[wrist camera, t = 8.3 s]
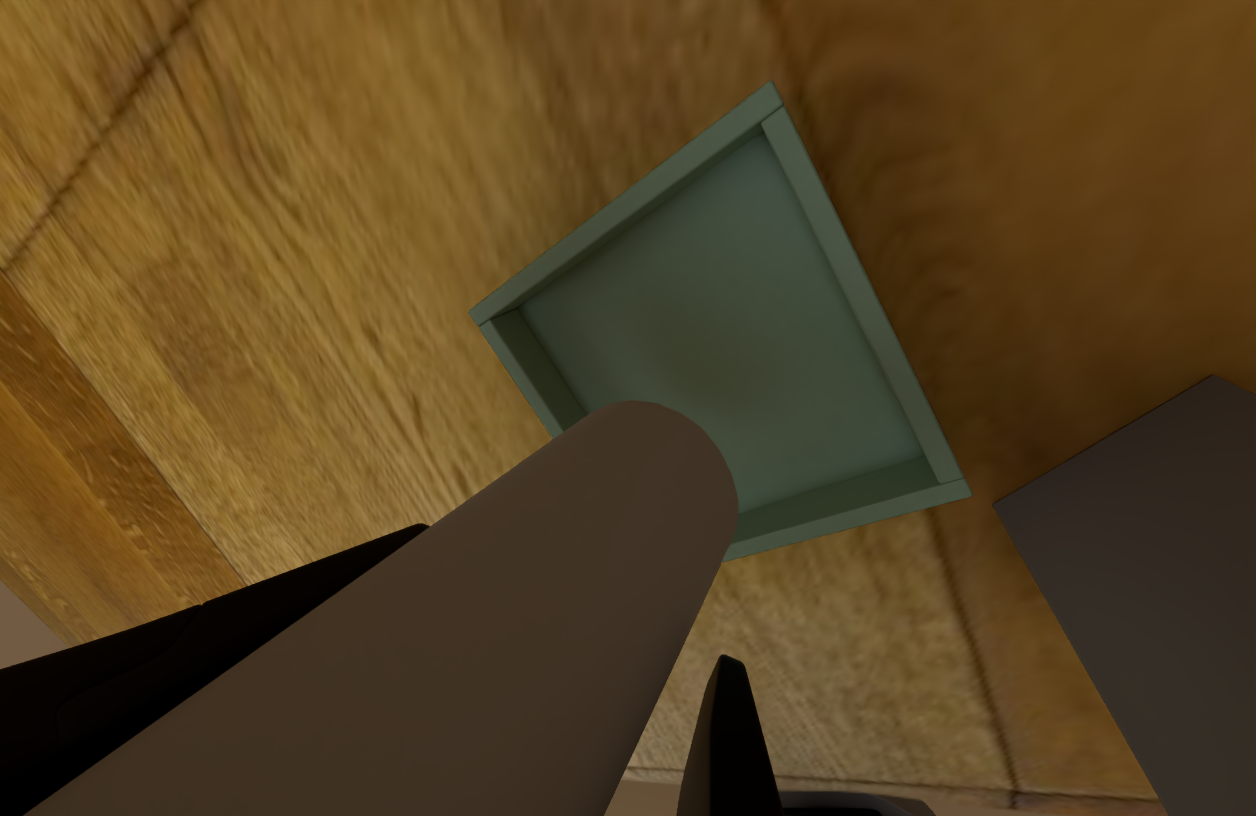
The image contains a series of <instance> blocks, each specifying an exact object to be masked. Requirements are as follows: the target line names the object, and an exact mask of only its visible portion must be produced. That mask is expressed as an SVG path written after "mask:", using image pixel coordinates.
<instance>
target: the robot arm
mask: <svg viewBox="0 0 1256 816" xmlns="http://www.w3.org/2000/svg"><path fill="white" fill-rule="evenodd" d="M429 527H430V526H428V525H426V524H423V523H419V524H415V525H412V526H410V527H407V528H404V529H401V530H399V531H396V532H393V533H391V534H388V535H385V536H382V537H380V538H377V539H374V540H372V541H369V542H366V543H363V544H361V545H358V546H355V547H353V548H350V549H347V550H344V551H342V552H339V553H336V554H334V555H331V556H328V557H326V558H323V559H320V560H317V561H315V562H312V563H309V564H307V565H304V566H301V567H298V568H296V569H293V570H290V571H288V572H285V573H282V574H279V575H277V576H274V577H271V578H269V579H266V580H263V581H261V582H258V583H255V584H252V585H250V586H247V587H244V588H242V589H239V590H236V591H233V592H231V593H228V594H225V595H223V596H220V597H217V598H214V599H212V600H209V601H206V602H204V603H203V604H202V605H195V606H192V607H190V608H187V609H184V610H182V611H179V612H176V613H173V614H171V615H168V616H165V617H162V618H159V619H156V620H154V621H151V622H148V623H145V624H142V625H139V626H137V627H134V628H131V629H128V630H125V631H122V632H119V633H116V634H113V635H109V636H106V637H103V638H100V639H97V640H94V641H91V642H88V643H84V644H81V645H78V646H75V647H72V648H68V649H65V650H62V651H59V652H56V653H52V654H49V655H46V656H42V657H39V658H36V659H32V660H29V661H26V662H23V663H19V664H16V665H13V666H10V667H6V668H3V669H0V816H23V815H24V814H26V813H27V812H29V811H30V810H31V809H33V808H34V807H36V806H37V805H38V804H40V803H41V802H43V801H44V800H45V799H47V798H48V797H50V796H51V795H53V794H54V793H55V792H57V791H58V790H60V789H61V788H62V787H64V786H65V785H67V784H68V783H69V782H71V781H72V780H74V779H75V778H77V777H78V776H79V775H81V774H82V773H84V772H85V771H86V770H88V769H89V768H91V767H92V766H93V765H95V764H96V763H98V762H99V761H100V760H102V759H103V758H105V757H106V756H108V755H109V754H110V753H112V752H113V751H115V750H116V749H117V748H119V747H120V746H122V745H123V744H124V743H126V742H127V741H129V740H130V739H132V738H133V737H134V736H136V735H137V734H139V733H140V732H141V731H143V730H144V729H146V728H147V727H148V726H150V725H151V724H153V723H154V722H155V721H157V720H158V719H160V718H161V717H163V716H164V715H165V714H167V713H168V712H170V711H171V710H172V709H174V708H175V707H177V706H178V705H179V704H181V703H182V702H184V701H185V700H187V699H188V698H189V697H191V696H192V695H194V694H195V693H196V692H198V691H199V690H201V689H202V688H203V687H205V686H206V685H208V684H209V683H211V682H212V681H213V680H215V679H216V678H218V677H219V676H220V675H222V674H223V673H225V672H226V671H227V670H229V669H230V668H232V667H233V666H234V665H236V664H237V663H239V662H240V661H242V660H243V659H244V658H246V657H247V656H249V655H250V654H251V653H253V652H254V651H256V650H257V649H258V648H260V647H261V646H263V645H264V644H266V643H267V642H268V641H270V640H271V639H273V638H274V637H275V636H277V635H278V634H280V633H281V632H282V631H284V630H285V629H287V628H288V627H289V626H291V625H292V624H294V623H295V622H297V621H298V620H299V619H301V618H302V617H304V616H305V615H306V614H308V613H309V612H311V611H312V610H313V609H315V608H316V607H318V606H319V605H321V604H322V603H323V602H325V601H326V600H328V599H329V598H330V597H332V596H333V595H335V594H336V593H337V592H339V591H340V590H342V589H343V588H344V587H346V586H347V585H349V584H350V583H352V582H353V581H354V580H356V579H357V578H359V577H360V576H361V575H363V574H364V573H366V572H367V571H368V570H370V569H371V568H373V567H374V566H376V565H377V564H378V563H380V562H381V561H383V560H384V559H385V558H387V557H388V556H390V555H391V554H392V553H394V552H395V551H397V550H398V549H399V548H401V547H402V546H404V545H405V544H407V543H408V542H409V541H411V540H412V539H414V538H415V537H416V536H418V535H419V534H421V533H422V532H423V531H425V530H426V529H428V528H429ZM677 816H883V815H882V814H881V813H880V812H879V811H877V810H874V809H868V808H782V804H781V800H780V797H779V793H778V789H777V785H776V782H775V778H774V774H773V770H772V766H771V763H770V759H769V755H768V751H767V747H766V744H765V740H764V736H763V732H762V728H761V725H760V721H759V717H758V713H757V710H756V706H755V702H754V698H753V694H752V691H751V687H750V683H749V679H748V675H747V672H746V668H745V666H744V664H743V663H742V662H741V661H739V660H736V659H734V658H732V657H729V656H727V655H724V654H723V655H721V656H720V657H719V658H718V661H717V663H716V665H715V667H714V670H713V672H712V674H711V676H710V679H709V681H708V683H707V686H706V689H705V693H704V697H703V701H702V704H701V708H700V712H699V716H698V720H697V724H696V728H695V732H694V736H693V740H692V744H691V748H690V751H689V755H688V759H687V763H686V767H685V771H684V776H683V780H682V784H681V790H680V796H679V802H678V808H677Z"/></svg>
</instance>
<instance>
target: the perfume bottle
mask: <svg viewBox="0 0 1256 816" xmlns="http://www.w3.org/2000/svg"><path fill="white" fill-rule="evenodd" d="M993 507H994V509H995V511H996V512H997V514H998V516H999V518H1000V519H1001V521H1002V523H1003V525H1004V527H1005V528H1006V530H1007V532H1008V534H1009V535H1010V537H1011V539H1012V541H1013V542H1014V544H1015V546H1016V548H1017V549H1018V551H1019V553H1020V555H1021V556H1022V558H1023V560H1024V562H1025V563H1026V565H1027V567H1028V569H1029V570H1030V572H1031V574H1032V576H1033V578H1034V579H1035V581H1036V583H1037V585H1038V586H1039V588H1040V590H1041V592H1042V593H1043V595H1044V597H1045V599H1046V600H1047V602H1048V604H1049V606H1050V607H1051V609H1052V611H1053V613H1054V614H1055V616H1056V618H1057V620H1058V621H1059V623H1060V625H1061V627H1062V629H1063V630H1064V632H1065V634H1066V636H1067V637H1068V639H1069V641H1070V643H1071V644H1072V646H1073V648H1074V650H1075V651H1076V653H1077V655H1078V657H1079V658H1080V660H1081V662H1082V664H1083V665H1084V667H1085V669H1086V671H1087V673H1088V674H1089V676H1090V678H1091V680H1092V681H1093V683H1094V685H1095V687H1096V688H1097V690H1098V692H1099V694H1100V695H1101V697H1102V699H1103V701H1104V702H1105V704H1106V706H1107V708H1108V709H1109V711H1110V713H1111V715H1112V716H1113V718H1114V720H1115V722H1116V724H1117V725H1118V727H1119V729H1120V731H1121V732H1122V734H1123V736H1124V738H1125V739H1126V741H1127V743H1128V745H1129V746H1130V748H1131V750H1132V752H1133V753H1134V755H1135V757H1136V759H1137V760H1138V762H1139V764H1140V766H1141V767H1142V769H1143V771H1144V773H1145V775H1146V776H1147V778H1148V780H1149V782H1150V783H1151V785H1152V787H1153V789H1154V790H1155V792H1156V794H1157V796H1158V797H1159V799H1160V801H1161V803H1162V804H1163V806H1164V808H1165V810H1166V811H1167V813H1168V815H1169V816H1256V394H1254V393H1252V392H1250V391H1247V390H1245V389H1243V388H1241V387H1239V386H1237V385H1235V384H1233V383H1230V382H1228V381H1226V380H1224V379H1222V378H1220V377H1218V376H1215V375H1212V376H1210V377H1209V378H1207V379H1205V380H1204V381H1202V382H1200V383H1199V384H1197V385H1195V386H1193V387H1192V388H1190V389H1188V390H1187V391H1185V392H1183V393H1182V394H1180V395H1178V396H1176V397H1175V398H1173V399H1171V400H1170V401H1168V402H1166V403H1165V404H1163V405H1161V406H1159V407H1158V408H1156V409H1154V410H1153V411H1151V412H1149V413H1148V414H1146V415H1144V416H1142V417H1141V418H1139V419H1137V420H1136V421H1134V422H1132V423H1131V424H1129V425H1127V426H1125V427H1124V428H1122V429H1120V430H1119V431H1117V432H1115V433H1114V434H1112V435H1110V436H1108V437H1107V438H1105V439H1103V440H1102V441H1100V442H1098V443H1097V444H1095V445H1093V446H1091V447H1090V448H1088V449H1086V450H1085V451H1083V452H1081V453H1079V454H1078V455H1076V456H1074V457H1073V458H1071V459H1069V460H1068V461H1066V462H1064V463H1062V464H1061V465H1059V466H1057V467H1056V468H1054V469H1052V470H1051V471H1049V472H1047V473H1045V474H1044V475H1042V476H1040V477H1039V478H1037V479H1035V480H1034V481H1032V482H1030V483H1028V484H1027V485H1025V486H1023V487H1022V488H1020V489H1018V490H1017V491H1015V492H1013V493H1011V494H1010V495H1008V496H1006V497H1005V498H1003V499H1001V500H1000V501H998V502H996V503H994V504H993Z"/></svg>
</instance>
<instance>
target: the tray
mask: <svg viewBox="0 0 1256 816" xmlns="http://www.w3.org/2000/svg"><path fill="white" fill-rule="evenodd" d="M468 313H469V314H470V316H471V317H472V319H473V320H474V322H475V323H476V325H477V326H480V327H479V329H480V331H481V332H482V334H483V335H484V337H485V338H486V340H487V341H488V343H489V344H490V346H491V347H492V349H493V350H494V352H495V353H496V355H497V356H498V358H499V359H500V361H501V362H502V364H503V365H504V367H505V368H506V370H507V371H508V373H509V374H510V376H511V377H512V379H513V380H514V382H515V383H516V385H517V386H518V388H519V389H520V391H521V392H522V394H523V395H524V397H525V398H526V400H527V401H528V403H529V404H530V405H531V407H532V408H533V410H534V411H535V413H536V414H537V416H538V417H539V419H540V420H541V422H542V423H543V425H544V426H545V428H546V429H547V431H548V432H549V434H550V435H551V437H552V438H553V439H555V438H556V437H557V436H559V435H560V434H562V433H563V432H565V431H566V430H567V429H569V428H570V427H572V426H573V425H574V424H576V423H577V422H579V421H580V420H581V419H583V418H584V417H586V416H587V415H588V414H590V413H591V412H593V411H595V410H597V409H599V408H601V407H603V406H605V405H607V404H609V403H616V402H623V401H629V400H636V401H644V402H652V403H657V404H660V405H662V406H665V407H667V408H670V409H672V410H675V411H677V412H680V413H682V414H683V415H684V416H686V417H687V418H689V419H690V420H691V421H693V422H694V423H695V424H697V425H698V426H700V427H701V428H702V429H703V430H704V431H705V432H706V433H707V435H708V436H709V437H710V438H711V440H712V441H713V442H714V443H715V445H716V446H717V447H718V448H719V450H720V451H721V453H722V455H723V457H724V459H725V461H726V463H727V465H728V467H729V469H730V472H731V474H732V476H733V480H734V484H735V488H736V492H737V496H738V524H737V527H736V530H735V533H734V535H733V538H732V541H731V543H730V545H729V548H728V550H727V552H726V554H725V556H724V558H723V561H722V562H725V561H729V560H733V559H737V558H741V557H744V556H748V555H752V554H756V553H759V552H763V551H767V550H771V549H775V548H778V547H782V546H786V545H790V544H793V543H797V542H801V541H805V540H809V539H812V538H816V537H820V536H824V535H828V534H831V533H835V532H839V531H843V530H846V529H850V528H854V527H858V526H862V525H865V524H869V523H873V522H877V521H881V520H884V519H888V518H892V517H896V516H899V515H903V514H907V513H911V512H915V511H918V510H922V509H926V508H930V507H933V506H937V505H941V504H945V503H949V502H952V501H956V500H960V499H964V498H968V497H971V496H973V493H972V491H971V489H970V487H969V485H968V483H967V481H966V479H965V477H964V475H963V473H962V471H961V468H960V466H959V464H958V462H957V460H956V458H955V456H954V454H953V452H952V450H951V448H950V446H949V444H948V442H947V440H946V437H945V435H944V433H943V431H942V429H941V427H940V425H939V423H938V421H937V419H936V417H935V415H934V413H933V411H932V408H931V406H930V404H929V402H928V400H927V398H926V396H925V394H924V392H923V390H922V388H921V386H920V384H919V382H918V380H917V377H916V375H915V373H914V371H913V369H912V367H911V365H910V363H909V361H908V359H907V357H906V355H905V353H904V351H903V349H902V346H901V344H900V342H899V340H898V338H897V336H896V334H895V332H894V330H893V328H892V326H891V324H890V322H889V320H888V317H887V315H886V313H885V311H884V309H883V307H882V305H881V303H880V301H879V299H878V297H877V295H876V293H875V291H874V289H873V286H872V284H871V282H870V280H869V278H868V276H867V274H866V272H865V270H864V268H863V266H862V264H861V262H860V260H859V258H858V255H857V253H856V251H855V249H854V247H853V245H852V243H851V241H850V239H849V237H848V235H847V233H846V231H845V229H844V227H843V224H842V222H841V220H840V218H839V216H838V214H837V212H836V210H835V208H834V206H833V204H832V202H831V200H830V198H829V195H828V193H827V191H826V189H825V187H824V185H823V183H822V181H821V179H820V177H819V175H818V173H817V171H816V169H815V167H814V164H813V162H812V160H811V158H810V156H809V154H808V152H807V150H806V148H805V146H804V144H803V142H802V140H801V138H800V136H799V133H798V131H797V129H796V127H795V125H794V123H793V121H792V119H791V117H790V115H789V113H788V111H787V109H786V107H785V106H784V103H783V100H782V98H781V96H780V94H779V92H778V90H777V88H776V86H775V84H774V82H773V81H772V80H771V81H768V82H767V83H766V84H764V85H763V86H762V87H760V88H759V89H758V90H757V91H755V92H754V93H753V94H751V95H750V96H749V97H747V98H746V99H745V100H743V101H742V102H741V103H740V104H738V105H737V106H736V107H734V108H733V109H732V110H730V111H729V112H728V113H726V114H725V115H724V116H723V117H721V118H720V119H719V120H717V121H716V122H715V123H713V124H712V125H711V126H709V127H708V128H707V129H706V130H704V131H703V132H702V133H700V134H699V135H698V136H696V137H695V138H694V139H692V140H691V141H690V142H689V143H687V144H686V145H685V146H683V147H682V148H681V149H679V150H678V151H677V152H676V153H674V154H673V155H672V156H670V157H669V158H668V159H666V160H665V161H664V162H662V163H661V164H660V165H659V166H657V167H656V168H655V169H653V170H652V171H651V172H649V173H648V174H647V175H645V176H644V177H643V178H642V179H640V180H639V181H638V182H636V183H635V184H634V185H632V186H631V187H630V188H628V189H627V190H626V191H625V192H623V193H622V194H621V195H619V196H618V197H617V198H615V199H614V200H613V201H611V202H610V203H609V204H608V205H606V206H605V207H604V208H602V209H601V210H600V211H598V212H597V213H596V214H594V215H593V216H592V217H591V218H589V219H588V220H587V221H585V222H584V223H583V224H581V225H580V226H579V227H577V228H576V229H575V230H574V231H572V232H571V233H570V234H568V235H567V236H566V237H564V238H563V239H562V240H560V241H559V242H558V243H557V244H555V245H554V246H553V247H551V248H550V249H549V250H547V251H546V252H545V253H543V254H542V255H541V256H540V257H538V258H537V259H536V260H534V261H533V262H532V263H530V264H529V265H528V266H526V267H525V268H524V269H523V270H521V271H520V272H519V273H517V274H516V275H515V276H513V277H512V278H511V279H509V280H508V281H507V282H506V283H504V284H503V285H502V286H500V287H499V288H498V289H496V290H495V291H494V292H492V293H491V294H490V295H489V296H487V297H486V298H485V299H483V300H482V301H481V302H479V303H478V304H477V305H475V306H474V307H473V308H472V309H470V310H469V312H468Z"/></svg>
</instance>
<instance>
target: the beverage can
mask: <svg viewBox="0 0 1256 816" xmlns="http://www.w3.org/2000/svg"><path fill="white" fill-rule="evenodd" d="M737 524H738V496H737V492H736V488H735V484H734V480H733V476H732V474H731V472H730V469H729V467H728V465H727V463H726V461H725V459H724V457H723V455H722V453H721V451H720V450H719V448H718V447H717V446H716V445H715V443H714V442H713V441H712V440H711V438H710V437H709V436H708V435H707V433H706V432H705V431H704V430H703V429H702V428H701V427H700V426H698V425H697V424H695V423H694V422H693V421H691V420H690V419H689V418H687V417H686V416H684V415H683V414H682V413H680V412H677V411H675V410H672V409H670V408H667V407H665V406H662V405H660V404H657V403H652V402H644V401H636V400H629V401H623V402H616V403H609V404H607V405H605V406H603V407H601V408H599V409H597V410H595V411H593V412H591V413H590V414H588V415H587V416H586V417H584V418H583V419H581V420H580V421H579V422H577V423H576V424H574V425H573V426H572V427H570V428H569V429H567V430H566V431H565V432H563V433H562V434H560V435H559V436H557V437H556V438H555V439H553V440H552V441H550V442H549V443H548V444H546V445H545V446H543V447H542V448H541V449H539V450H538V451H536V452H535V453H533V454H532V455H531V456H529V457H528V458H526V459H525V460H524V461H522V462H521V463H519V464H518V465H517V466H515V467H514V468H512V469H511V470H510V471H508V472H507V473H505V474H504V475H502V476H501V477H500V478H498V479H497V480H495V481H494V482H493V483H491V484H490V485H488V486H487V487H486V488H484V489H483V490H481V491H480V492H478V493H477V494H476V495H474V496H473V497H471V498H470V499H469V500H467V501H466V502H464V503H463V504H462V505H460V506H459V507H457V508H456V509H455V510H453V511H452V512H450V513H449V514H447V515H446V516H445V517H443V518H442V519H440V520H439V521H438V522H436V523H435V524H433V525H432V526H431V527H429V528H428V529H426V530H425V531H423V532H422V533H421V534H419V535H418V536H416V537H415V538H414V539H412V540H411V541H409V542H408V543H407V544H405V545H404V546H402V547H401V548H399V549H398V550H397V551H395V552H394V553H392V554H391V555H390V556H388V557H387V558H385V559H384V560H383V561H381V562H380V563H378V564H377V565H376V566H374V567H373V568H371V569H370V570H368V571H367V572H366V573H364V574H363V575H361V576H360V577H359V578H357V579H356V580H354V581H353V582H352V583H350V584H349V585H347V586H346V587H344V588H343V589H342V590H340V591H339V592H337V593H336V594H335V595H333V596H332V597H330V598H329V599H328V600H326V601H325V602H323V603H322V604H321V605H319V606H318V607H316V608H315V609H313V610H312V611H311V612H309V613H308V614H306V615H305V616H304V617H302V618H301V619H299V620H298V621H297V622H295V623H294V624H292V625H291V626H289V627H288V628H287V629H285V630H284V631H282V632H281V633H280V634H278V635H277V636H275V637H274V638H273V639H271V640H270V641H268V642H267V643H266V644H264V645H263V646H261V647H260V648H258V649H257V650H256V651H254V652H253V653H251V654H250V655H249V656H247V657H246V658H244V659H243V660H242V661H240V662H239V663H237V664H236V665H234V666H233V667H232V668H230V669H229V670H227V671H226V672H225V673H223V674H222V675H220V676H219V677H218V678H216V679H215V680H213V681H212V682H211V683H209V684H208V685H206V686H205V687H203V688H202V689H201V690H199V691H198V692H196V693H195V694H194V695H192V696H191V697H189V698H188V699H187V700H185V701H184V702H182V703H181V704H179V705H178V706H177V707H175V708H174V709H172V710H171V711H170V712H168V713H167V714H165V715H164V716H163V717H161V718H160V719H158V720H157V721H155V722H154V723H153V724H151V725H150V726H148V727H147V728H146V729H144V730H143V731H141V732H140V733H139V734H137V735H136V736H134V737H133V738H132V739H130V740H129V741H127V742H126V743H124V744H123V745H122V746H120V747H119V748H117V749H116V750H115V751H113V752H112V753H110V754H109V755H108V756H106V757H105V758H103V759H102V760H100V761H99V762H98V763H96V764H95V765H93V766H92V767H91V768H89V769H88V770H86V771H85V772H84V773H82V774H81V775H79V776H78V777H77V778H75V779H74V780H72V781H71V782H69V783H68V784H67V785H65V786H64V787H62V788H61V789H60V790H58V791H57V792H55V793H54V794H53V795H51V796H50V797H48V798H47V799H45V800H44V801H43V802H41V803H40V804H38V805H37V806H36V807H34V808H33V809H31V810H30V811H29V812H27V813H26V814H24V815H23V816H604V814H605V812H606V810H607V808H608V805H609V803H610V801H611V799H612V797H613V795H614V793H615V791H616V788H617V786H618V784H619V782H620V780H621V778H622V776H623V773H624V771H625V769H626V767H627V765H628V763H629V761H630V758H631V756H632V754H633V752H634V750H635V748H636V746H637V743H638V741H639V739H640V737H641V735H642V733H643V731H644V728H645V726H646V724H647V722H648V720H649V718H650V716H651V713H652V711H653V709H654V707H655V705H656V703H657V701H658V698H659V696H660V694H661V692H662V690H663V688H664V686H665V684H666V681H667V679H668V677H669V675H670V673H671V671H672V669H673V666H674V664H675V662H676V660H677V658H678V656H679V653H680V651H681V649H682V647H683V645H684V643H685V641H686V638H687V636H688V634H689V632H690V630H691V628H692V626H693V623H694V621H695V619H696V617H697V615H698V613H699V610H700V608H701V606H702V604H703V602H704V600H705V597H706V595H707V593H708V591H709V589H710V587H711V585H712V582H713V580H714V578H715V576H716V574H717V572H718V569H719V567H720V565H721V563H722V561H723V558H724V556H725V554H726V552H727V550H728V548H729V545H730V543H731V541H732V538H733V535H734V533H735V530H736V527H737Z"/></svg>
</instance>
